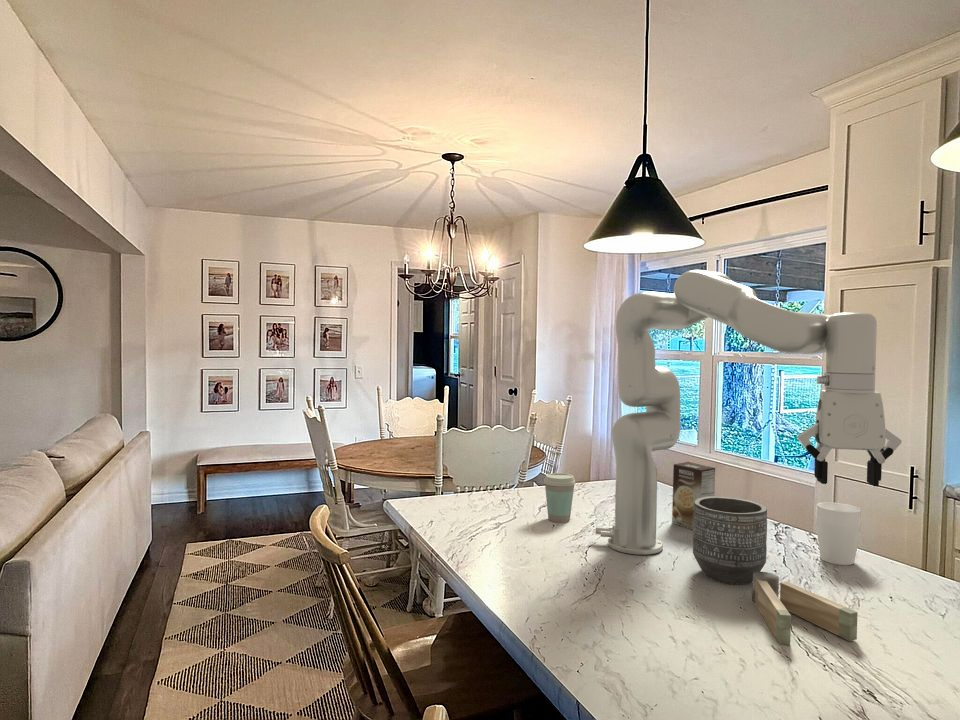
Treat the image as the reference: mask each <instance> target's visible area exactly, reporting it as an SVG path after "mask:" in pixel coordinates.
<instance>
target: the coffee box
mask: <svg viewBox="0 0 960 720" xmlns="http://www.w3.org/2000/svg"><path fill="white" fill-rule="evenodd" d="M672 476H673V477H672V503H671V504H672V505H671V508H672V510H671V513H672V514H671V523H672V524H674V525H677V526H681V527H683V528H687V529H690V530H693V522H694V501H695V500H696V499H698V498H701V497H708V496H715V492H716V491H715V486H716V485H715V484H716V467H712V466H709V465H704V464H700V463H696V462H695V463H694V462H690V461H685V462H679V463H673V475H672Z"/></svg>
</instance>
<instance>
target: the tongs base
mask: <svg viewBox="0 0 960 720" xmlns="http://www.w3.org/2000/svg"><path fill="white" fill-rule="evenodd" d="M779 582H780V577H779V575H777V574H774V573H772V572H768V571H760V572H755V573H753V581H752V600H751V601H752V603H754V604H755V605H756V608H757V610H758V611H759V612H760V614H761V616H762V617H763V619H764V621H765V622H766V624H767V626H768V627H769V629H770V631H771V632H772V634H773V636H774V638H775V640H776V641H777V642H778V644H779V645H784V646H785V645H786V646H791V636H792V635H791V633H792V631H791V630H792V629H791V628H792V626H791V625H792V615H791V612H789V611H787V609H786V608H785V606H784V605H783V604H782V602H781V601H780V597H779V594H780V587H779V584H780V583H779Z"/></svg>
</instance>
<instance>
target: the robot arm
mask: <svg viewBox="0 0 960 720" xmlns="http://www.w3.org/2000/svg"><path fill="white" fill-rule="evenodd" d="M707 318H710V319H713V320H714V321H717V322H719V323H721V324H724V325H726V326H729V327H731V328H732V329H733V330H734V331H735V332H737V333H738V334H739V335H741V336H743V337H744V338H747V339H748V340H750V341H752V342H755V343H757V344H759V345H762V346H764V347H766V348H768V349H771V350H773V351H777V352H780V353H782V354H783V353H784V354H788V355H796V354H797V355H799V354H802V355H803V354H804V355H809V354H811V355H817V354H825V372H824V373H823V375H821V376H819V375H818V376H817V377H816V383H817V384H819V385H823V387H824V388H825V389H822V390H821V391H820V393H819V398H818V404H817V408H816V414H815V424H813V425H812V426H810V427H808V428H807V429H805V430H803V432H801V433H798V434H797V436H796V439H797V440H798V441H799V443H800V445H801V446H803V448H804V450H805V451H806V452H808V454H809V455H810V456H811V457H812V458H813V459H814V471H813V475H814V478H815V479H816V481H817V482H818V483H820V484H822V485H826V484H828V476H829V475H828V473H829V472H828V471H829V469H828V464H829V463H828V461H826V457H828V455H829V454H830V452H831V450H835V449H836V450H855V451H866V453H867V454H868V456H869V460H868V461H867V462H866V483H867V484H869V485H870V486H873V487H879V485H880V484H879V483H880V481H881V480H882V473H883V472H882V470H883V469H882V467H883V466H882V465H883V464H885V462H886V460H888V459H889V458H890V457H891V456H892V455H893V454H894V452H895V451H896V450H897V449H898V447H900V445H901V444H902V440H901V438H899V437H898V436H896V435H895V434H893V433H892V432H891V431H889V430H888V429H887V428H886V420H885V410H884V405H883V399H882V395H881V392H878V391H876V390H875V389H876V369H877V368H876V366H877V365H876V359H877V329H878V325H877V318H876V316H874V315H873V314H871V313H870V312H869V313H867V312H838V313H837V312H836V313H834V314H823V313H814V312H812V313H811V312H804V311H803V312H801V311H792V310H788V309H785V308H782V307H779V306H777V305H773V304H771V303H769V302H766V301H763V300H762V299H759V298H758V297H757V293H756V291H755V290H754V289H753V288H751V287H749V286H748V285H747V286H746V285H743V284H742V283H741V284H740V283H738V282H735V281H733V280H732V279H731V278H730V277H729V276H727V275H726V274H724V273H721V272H719V271H709V270H703V269H693V270H687V271H685V272H683V273H682V274H680V275H679V276H678V277H677V279H675V282H674V284H673V293H669V292H668V293H667V292H661V291H660V292H659V291H642V292H637V293H633V294H632V295H630V296H628V297H627V298H626V299H625V300H624V301H623V302H622V303H621V304H620V306H619V309H618V310H617V312H616V317H615V331H616V332H615V334H616V340H617V351H618V352H617V385H618V396H619V399H620V401H621V402H622V403H623V404H624V405H625V406H627V407H631V408H632V407H633V408H643V407H644V408H645V409H646V411H642V412H641V411H639V412H632V413H627V414H625V415H622V416H621V417H619V418H618V419H617V420H616V421H615V422H614V425H613V426H612V430H611V439H612V445H613V446H612V447H613V451H614V458H615V459H614V460H615V492H614V493H615V496H614V497H615V499H614V501H615V502H614V503H615V504H614V505H615V506H614V507H615V508H614V522H613V523H612V524H613V525H608V526H607V527H606V526H605V527H604V526H597V525H595V535H597V536H598V535H599V536H600V537H602V538H608V539H607V545H608V546H609V547H610V548H611V549H612V550H614V551H617V552H620V553H625V554H630V555H641V556H643V555H654V554H658V553H660V552H661V551H663V549H664V548H663V547H664V544H663V542H662V541H661V540H660V539H658V538H657V509H658V507H657V506H658V505H657V502H658V471H657V470H658V469H657V467H656V466H657V464H656V462H655V460H654V457H653V454H652V453H654V452H660V451H665V450H669V449H671V448H672V447H674V446H675V445H676V444H677V443H678V441H679V438H680V433H681V389H680V388H681V387H680V383H679V380H678V378H677V376H676V374H675V373H674V372H673V371H672V370H670V369H669V368H667V367H665V366H659V365H658V366H657V365H656V348H655V343H654V340H653V338H652V335H651V334H650V331H651V330H663V331H665V330H668V331H676V330H682V329H686V328H688V327H691V326H692V325H693V326H694V325H695V324H697V323H700V322H701V321H703V320H705V319H707ZM812 437H814V440H815V442H816V443H817V444H818V445H817V447H815V446H814V445H813V444H812V443H811V441H810V439H811V438H812ZM886 441H887V443H886Z"/></svg>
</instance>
